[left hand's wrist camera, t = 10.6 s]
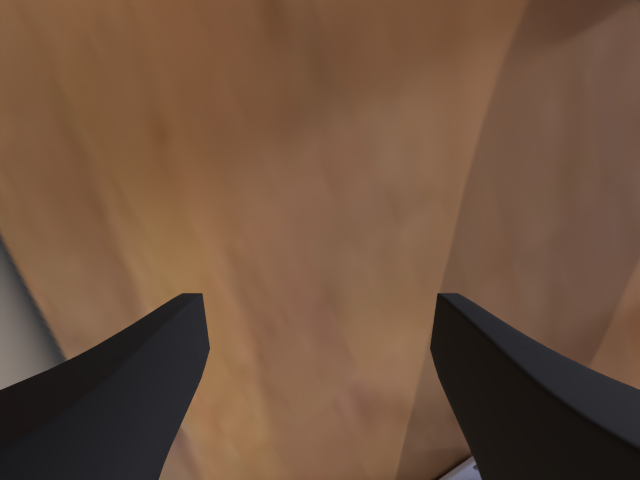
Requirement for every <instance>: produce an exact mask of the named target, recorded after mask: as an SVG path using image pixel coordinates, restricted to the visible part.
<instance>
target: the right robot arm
mask: <svg viewBox="0 0 640 480" xmlns="http://www.w3.org/2000/svg"><path fill="white" fill-rule="evenodd" d="M439 480H481V477H480V474H479V471H478V468H477V465H476V462H475V460H474V457H473V456H472V457H470V458H469V459H467V460H466V461H465V462H463V463H462V464H460V465H459V466H457V467H456V468H455V469H453V470H452V471H450V472H449V473H447V474H446V475H445V476H443V477H442V478H440V479H439Z"/></svg>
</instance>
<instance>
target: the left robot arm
mask: <svg viewBox="0 0 640 480" xmlns="http://www.w3.org/2000/svg"><path fill="white" fill-rule="evenodd" d="M638 1H640V0H638ZM209 350H210V346H209V338H208V331H207V324H206V316H205V309H204V302H203V295H202V293H182V294H180V295H178V296H177V297H175V298H173V299H171V300H170V301H168V302H167V303H165V304H163V305H162V306H160V307H159V308H157V309H156V310H154V311H153V312H151V313H149V314H148V315H146V316H145V317H143V318H142V319H140V320H139V321H137V322H135V323H134V324H132V325H131V326H129V327H127V328H126V329H124V330H122V331H121V332H119V333H117V334H115V335H114V336H112V337H110V338H109V339H107V340H105V341H104V342H102V343H100V344H98V345H97V346H95V347H93V348H91V349H89V350H88V351H86V352H84V353H82V354H80V355H78V356H76V357H74V358H72V359H70V360H68V361H66V362H64V363H62V364H60V365H58V366H56V367H53V368H51V369H49V370H47V371H44V372H42V373H40V374H37V375H35V376H33V377H30V378H28V379H26V380H23V381H21V382H18V383H16V384H14V385H11V386H9V387H7V388H4V389H2V390H0V480H159V477H160V474H161V471H162V468H163V465H164V462H165V460H166V457H167V455H168V452H169V450H170V447H171V445H172V443H173V441H174V438H175V436H176V434H177V432H178V430H179V427H180V425H181V423H182V421H183V418H184V416H185V414H186V412H187V409H188V407H189V405H190V403H191V401H192V398H193V396H194V394H195V391H196V389H197V387H198V385H199V382H200V380H201V377H202V374H203V371H204V368H205V364H206V361H207V357H208V353H209ZM430 350H431V353H432V357H433V361H434V364H435V368H436V371H437V374H438V377H439V380H440V382H441V385H442V387H443V389H444V391H445V394H446V396H447V398H448V401H449V403H450V405H451V407H452V410H453V412H454V414H455V416H456V418H457V421H458V423H459V425H460V427H461V430H462V432H463V434H464V436H465V438H466V441H467V443H468V445H469V447H470V450H471V452H472V455H473V457H474V460H475V462H476V465H477V468H478V471H479V474H480V477H481V480H640V390H639V389H636V388H634V387H631V386H629V385H627V384H624V383H622V382H619V381H617V380H614V379H612V378H609V377H607V376H605V375H603V374H600V373H598V372H596V371H594V370H591V369H589V368H587V367H585V366H583V365H581V364H579V363H577V362H575V361H573V360H571V359H569V358H566V357H564V356H562V355H560V354H559V353H557V352H555V351H553V350H551V349H549V348H547V347H546V346H544V345H542V344H540V343H538V342H537V341H535V340H533V339H531V338H530V337H528V336H526V335H524V334H523V333H521V332H519V331H518V330H516V329H514V328H513V327H511V326H510V325H508V324H506V323H505V322H503V321H502V320H500V319H499V318H497V317H495V316H494V315H492V314H491V313H489V312H488V311H486V310H485V309H483V308H481V307H480V306H478V305H477V304H475V303H474V302H472V301H470V300H469V299H467V298H465V297H464V296H462V295H460V294H458V293H438V295H437V302H436V309H435V316H434V324H433V331H432V338H431V346H430Z"/></svg>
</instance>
